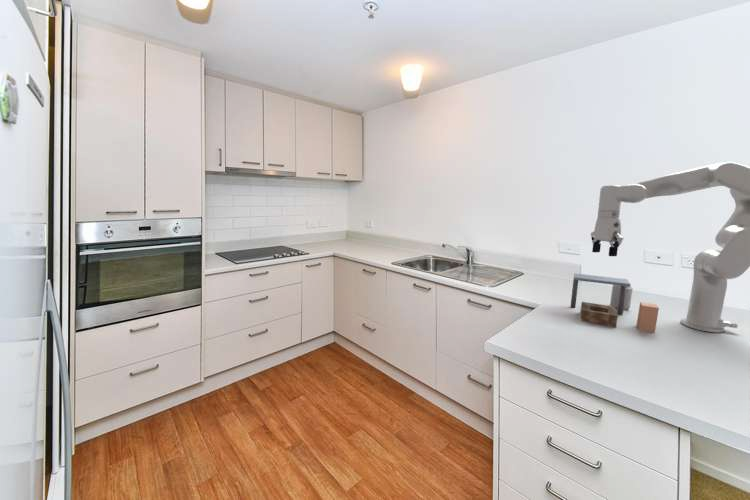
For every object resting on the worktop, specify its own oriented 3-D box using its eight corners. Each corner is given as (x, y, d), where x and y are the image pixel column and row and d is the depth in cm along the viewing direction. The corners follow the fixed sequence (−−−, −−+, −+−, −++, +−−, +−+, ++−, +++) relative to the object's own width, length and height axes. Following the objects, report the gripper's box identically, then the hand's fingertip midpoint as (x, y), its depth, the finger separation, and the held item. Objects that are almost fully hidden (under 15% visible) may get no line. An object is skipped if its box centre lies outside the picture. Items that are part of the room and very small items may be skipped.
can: (629, 311, 148) (633, 286, 146) (609, 308, 153) (612, 283, 151) (629, 307, 154) (632, 283, 152) (610, 304, 159) (613, 280, 157)
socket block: (612, 317, 141) (614, 306, 141) (616, 327, 130) (617, 315, 130) (580, 312, 148) (581, 301, 147) (580, 321, 137) (582, 310, 136)
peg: (652, 327, 130) (656, 304, 129) (654, 332, 126) (658, 307, 124) (636, 325, 133) (640, 302, 131) (638, 329, 129) (642, 305, 127)
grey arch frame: (622, 314, 145) (627, 279, 142) (624, 320, 138) (630, 283, 135) (570, 306, 155) (574, 273, 153) (570, 311, 148) (574, 277, 145)
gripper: (633, 215, 130) (628, 257, 133) (602, 213, 147) (598, 250, 150) (615, 216, 130) (610, 257, 132) (586, 213, 147) (582, 251, 149)
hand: (604, 254), depth 141 cm, fingers open, 9 cm apart
